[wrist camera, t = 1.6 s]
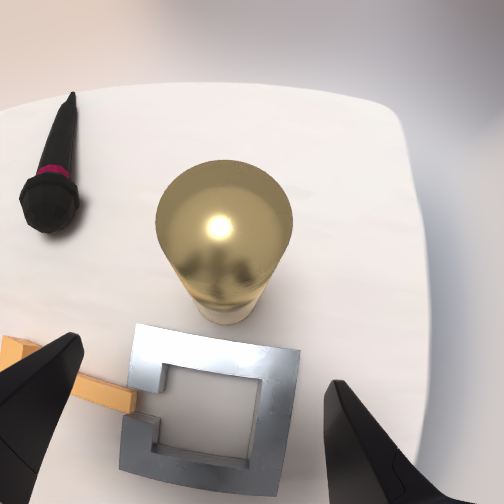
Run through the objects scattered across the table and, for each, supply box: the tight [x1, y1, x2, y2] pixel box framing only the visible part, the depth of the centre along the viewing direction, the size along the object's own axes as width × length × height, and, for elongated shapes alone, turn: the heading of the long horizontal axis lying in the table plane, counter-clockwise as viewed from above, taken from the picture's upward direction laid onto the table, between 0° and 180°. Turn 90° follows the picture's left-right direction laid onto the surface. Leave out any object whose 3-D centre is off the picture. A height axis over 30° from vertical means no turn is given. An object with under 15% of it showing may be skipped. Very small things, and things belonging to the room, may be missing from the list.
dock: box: [119, 323, 300, 497], centre depth 18 cm, size 11×11×2 cm
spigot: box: [155, 160, 293, 325], centre depth 16 cm, size 5×5×13 cm
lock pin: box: [0, 335, 137, 414], centre depth 17 cm, size 3×11×3 cm, turn 82°
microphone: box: [19, 92, 79, 233], centre depth 24 cm, size 6×6×20 cm
